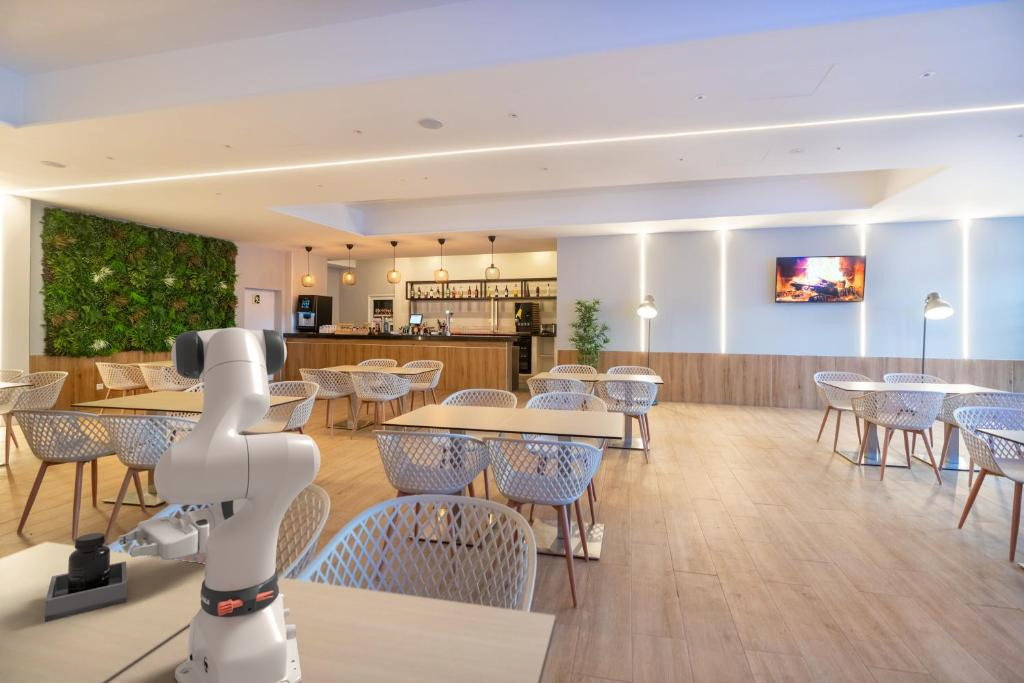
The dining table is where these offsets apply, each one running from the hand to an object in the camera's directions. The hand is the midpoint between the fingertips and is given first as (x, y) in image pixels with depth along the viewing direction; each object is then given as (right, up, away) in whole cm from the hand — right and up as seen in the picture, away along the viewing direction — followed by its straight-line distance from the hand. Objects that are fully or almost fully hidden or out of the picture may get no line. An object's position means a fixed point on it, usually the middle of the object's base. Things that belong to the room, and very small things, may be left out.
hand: (124, 546), depth 110 cm
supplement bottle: (-4, -8, -4) cm, 10 cm away
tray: (-4, -9, -5) cm, 11 cm away
